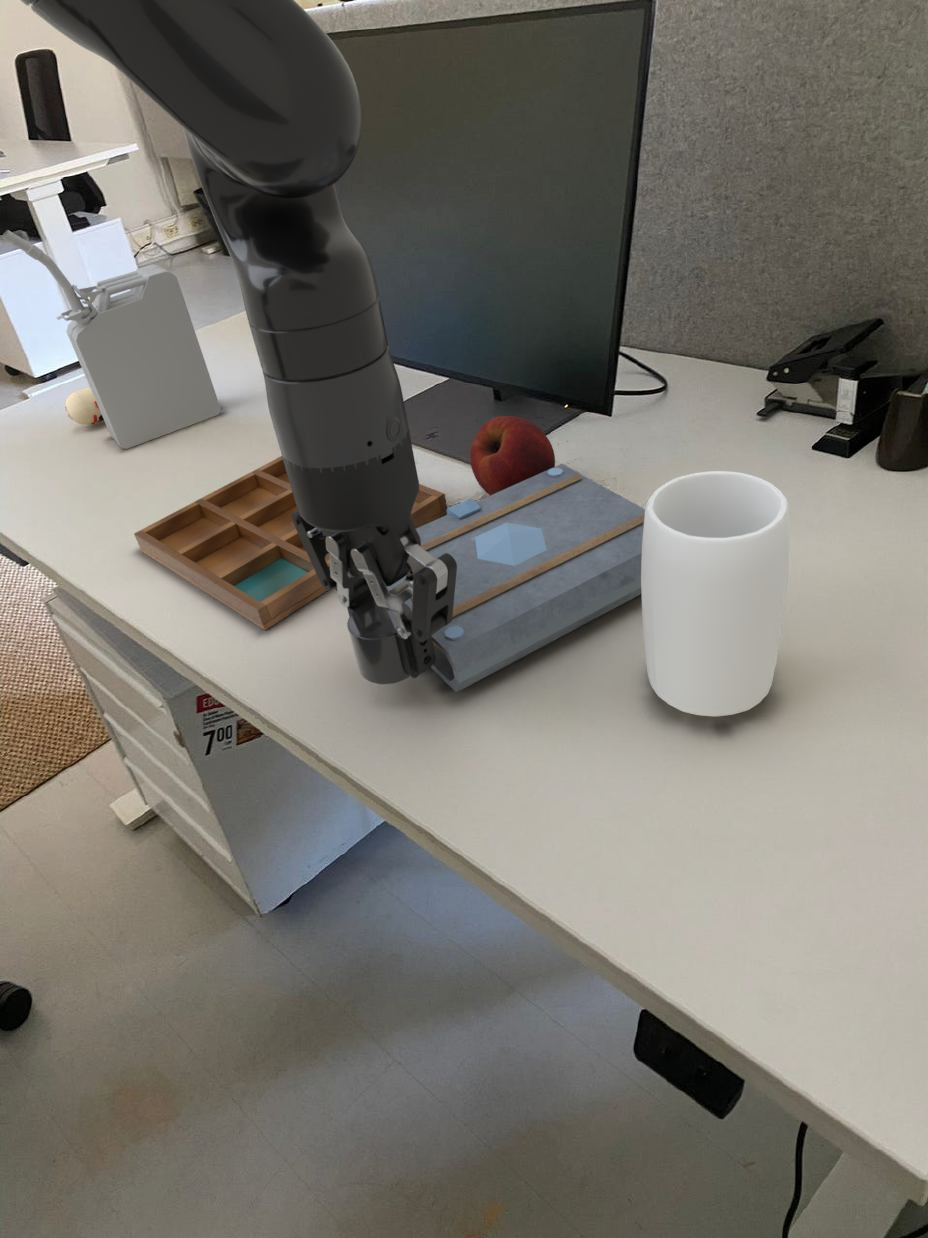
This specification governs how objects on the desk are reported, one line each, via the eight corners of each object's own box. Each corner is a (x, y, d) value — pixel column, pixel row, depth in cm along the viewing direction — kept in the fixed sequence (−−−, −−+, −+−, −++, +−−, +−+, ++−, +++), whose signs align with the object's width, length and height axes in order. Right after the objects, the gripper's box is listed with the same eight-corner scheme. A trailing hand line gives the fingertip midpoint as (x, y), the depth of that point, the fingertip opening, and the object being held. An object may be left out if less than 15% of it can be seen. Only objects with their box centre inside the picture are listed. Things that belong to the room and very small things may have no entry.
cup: (804, 702, 56) (830, 512, 47) (693, 753, 54) (698, 563, 45) (722, 632, 62) (731, 453, 53) (619, 674, 60) (612, 496, 51)
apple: (461, 496, 83) (448, 418, 78) (529, 468, 85) (521, 390, 80) (502, 527, 77) (491, 446, 72) (574, 496, 80) (568, 415, 75)
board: (265, 630, 70) (257, 610, 69) (141, 552, 83) (133, 533, 82) (448, 512, 81) (444, 493, 79) (313, 459, 93) (308, 441, 92)
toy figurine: (155, 407, 117) (70, 438, 111) (139, 375, 116) (52, 404, 110) (174, 393, 111) (84, 425, 105) (157, 358, 110) (65, 389, 103)
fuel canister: (101, 459, 101) (1, 233, 86) (90, 446, 105) (-7, 227, 90) (223, 414, 107) (149, 194, 92) (209, 402, 110) (136, 189, 95)
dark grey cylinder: (386, 694, 58) (375, 648, 56) (346, 667, 61) (333, 622, 58) (434, 659, 60) (425, 613, 58) (393, 635, 63) (383, 590, 61)
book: (463, 703, 60) (452, 648, 57) (358, 597, 72) (344, 547, 69) (691, 580, 67) (693, 525, 64) (562, 502, 79) (558, 453, 76)
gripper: (222, 430, 53) (293, 646, 63) (374, 492, 44) (427, 731, 54) (319, 383, 57) (371, 594, 67) (476, 433, 48) (508, 667, 58)
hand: (396, 655), depth 61 cm, fingers closed on dark grey cylinder, 4 cm apart
